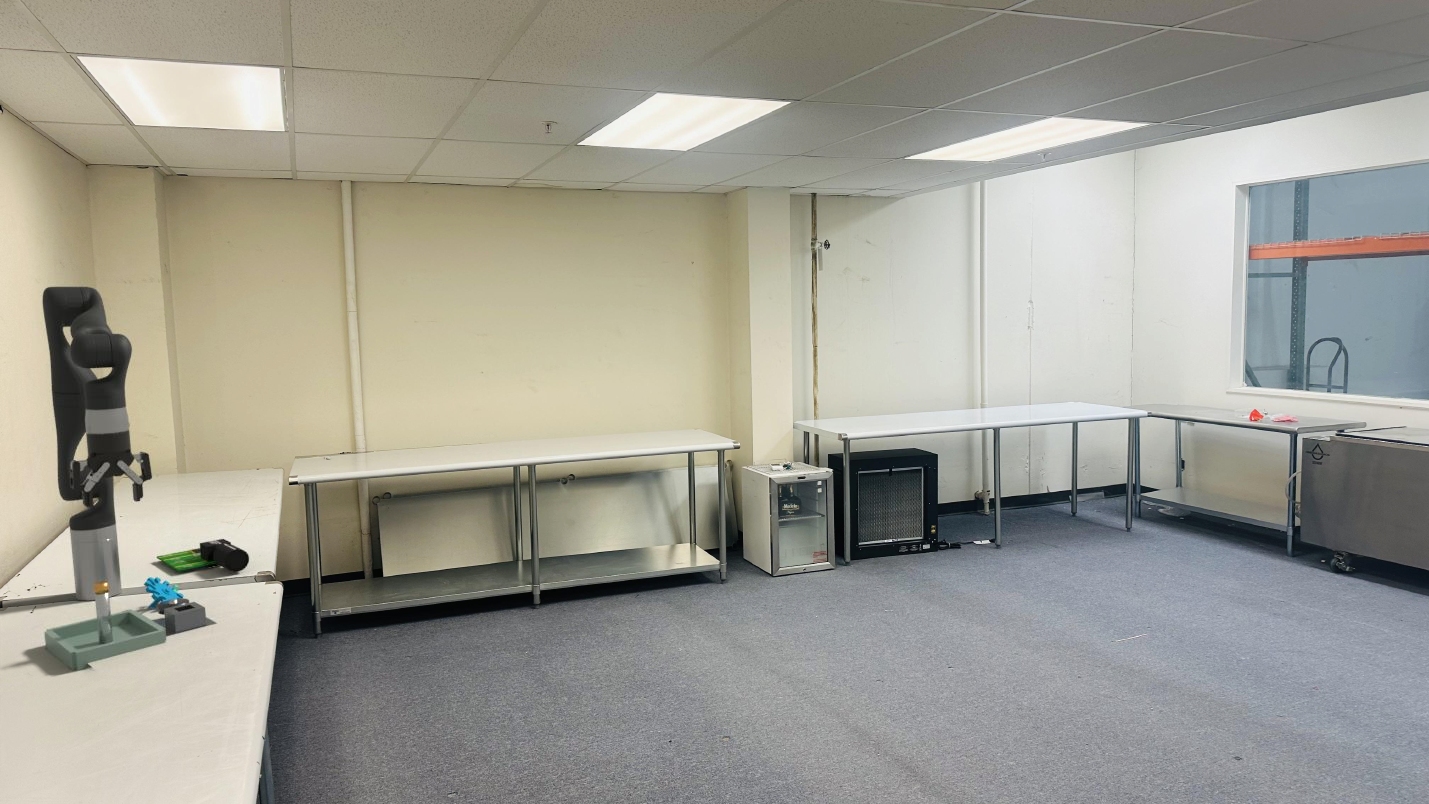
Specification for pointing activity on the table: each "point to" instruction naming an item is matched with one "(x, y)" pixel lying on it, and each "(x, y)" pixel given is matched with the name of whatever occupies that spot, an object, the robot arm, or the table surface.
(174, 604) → the grey slotted holder
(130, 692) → the table surface
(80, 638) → the tray
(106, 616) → the capped test tube
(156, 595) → the blue jagged piece
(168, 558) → the electronic board model
